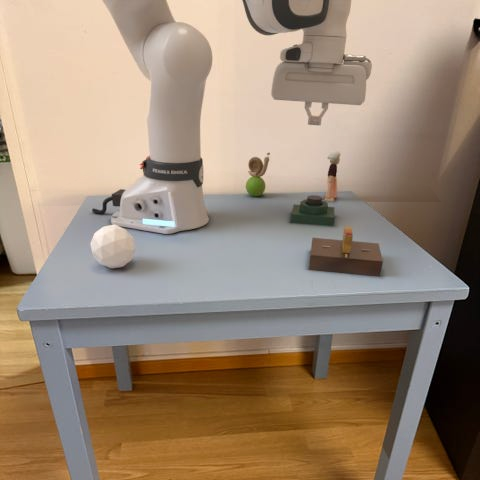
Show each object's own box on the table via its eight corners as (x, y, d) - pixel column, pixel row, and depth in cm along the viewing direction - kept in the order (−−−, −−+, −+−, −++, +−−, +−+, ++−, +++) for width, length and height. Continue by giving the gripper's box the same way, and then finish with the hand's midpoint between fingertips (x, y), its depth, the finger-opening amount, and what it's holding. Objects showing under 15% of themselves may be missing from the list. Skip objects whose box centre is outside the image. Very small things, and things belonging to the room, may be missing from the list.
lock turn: (341, 243, 88) (344, 225, 86) (349, 244, 88) (351, 225, 86) (342, 252, 84) (345, 233, 82) (350, 253, 84) (353, 234, 82)
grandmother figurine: (339, 203, 122) (345, 154, 116) (324, 202, 122) (330, 153, 116) (334, 195, 129) (340, 148, 122) (320, 194, 129) (326, 147, 122)
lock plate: (308, 269, 85) (310, 253, 83) (310, 251, 93) (312, 236, 91) (379, 276, 83) (383, 260, 81) (376, 257, 91) (378, 242, 89)
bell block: (290, 223, 107) (291, 206, 105) (293, 212, 114) (294, 197, 112) (333, 226, 106) (335, 209, 104) (333, 215, 113) (335, 200, 111)
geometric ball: (107, 276, 86) (90, 238, 86) (146, 260, 86) (129, 221, 86) (95, 274, 79) (77, 231, 78) (138, 256, 79) (119, 213, 78)
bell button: (306, 206, 107) (306, 198, 106) (306, 202, 110) (307, 194, 109) (321, 207, 106) (322, 200, 105) (321, 203, 109) (322, 195, 108)
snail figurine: (261, 200, 122) (264, 154, 116) (241, 196, 125) (243, 151, 119) (271, 196, 126) (274, 151, 120) (251, 192, 129) (253, 148, 123)
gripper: (372, 56, 96) (360, 126, 103) (276, 51, 99) (271, 120, 106) (374, 55, 90) (362, 130, 98) (273, 50, 93) (268, 123, 100)
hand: (314, 124), depth 102 cm, fingers closed
